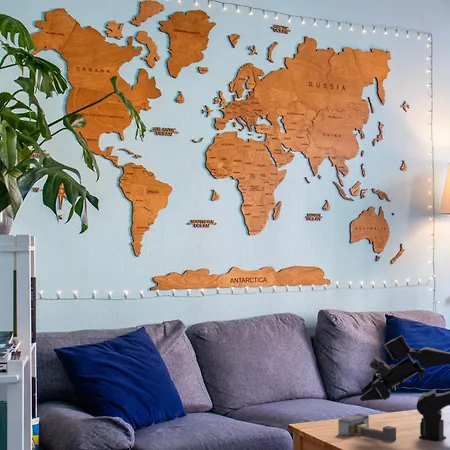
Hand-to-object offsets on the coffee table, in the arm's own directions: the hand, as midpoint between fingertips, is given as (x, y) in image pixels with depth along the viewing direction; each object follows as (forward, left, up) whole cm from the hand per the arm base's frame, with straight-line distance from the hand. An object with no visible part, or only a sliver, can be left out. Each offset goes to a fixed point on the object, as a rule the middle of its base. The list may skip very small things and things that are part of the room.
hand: (361, 395), depth 242 cm
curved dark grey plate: (+2, +1, -12) cm, 12 cm away
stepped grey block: (-7, +1, -12) cm, 14 cm away
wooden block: (0, +1, -12) cm, 12 cm away
